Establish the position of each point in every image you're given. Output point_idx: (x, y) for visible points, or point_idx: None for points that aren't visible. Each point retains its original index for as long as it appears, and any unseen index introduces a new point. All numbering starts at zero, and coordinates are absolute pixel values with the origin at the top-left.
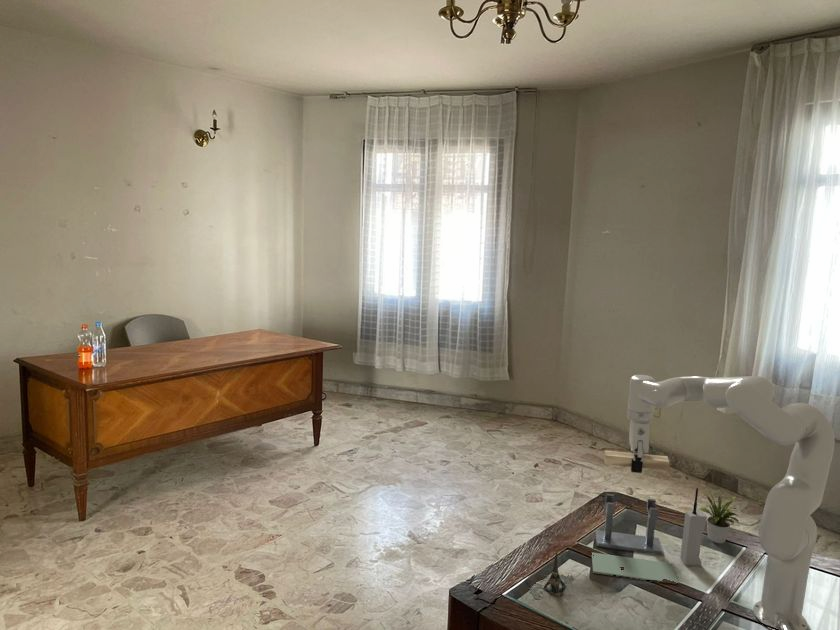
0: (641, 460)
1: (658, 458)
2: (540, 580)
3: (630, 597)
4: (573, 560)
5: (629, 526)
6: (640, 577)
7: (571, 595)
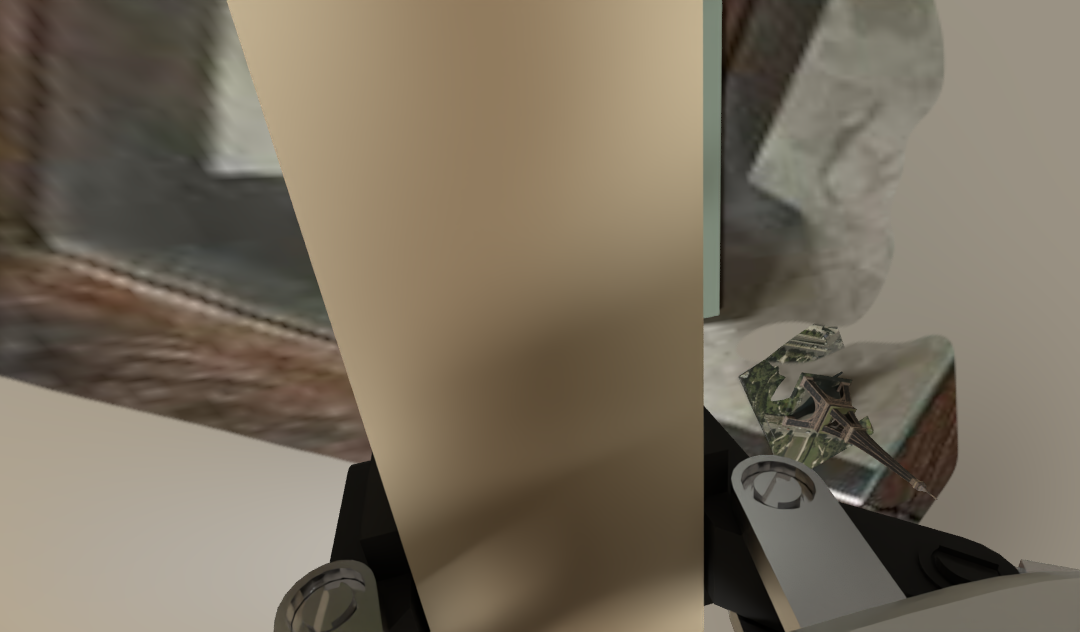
0: (819, 492)
1: (540, 112)
2: (793, 444)
3: (827, 171)
4: None
5: (269, 208)
6: (718, 139)
7: (843, 351)
